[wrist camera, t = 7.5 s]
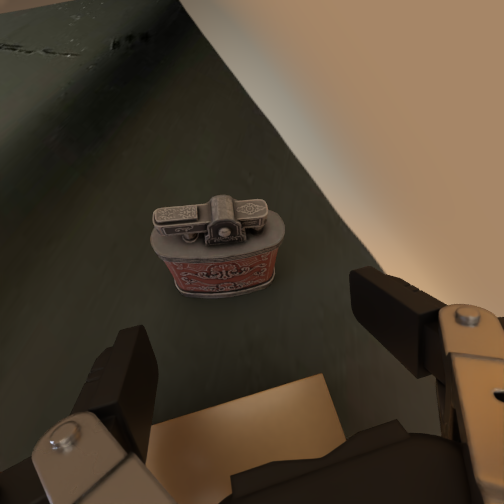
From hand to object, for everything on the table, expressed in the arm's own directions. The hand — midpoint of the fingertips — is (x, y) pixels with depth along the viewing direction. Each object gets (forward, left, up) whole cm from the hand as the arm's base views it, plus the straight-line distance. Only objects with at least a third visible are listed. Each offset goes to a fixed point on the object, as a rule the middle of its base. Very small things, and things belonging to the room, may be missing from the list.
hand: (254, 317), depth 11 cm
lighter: (0, +6, -12) cm, 14 cm away
